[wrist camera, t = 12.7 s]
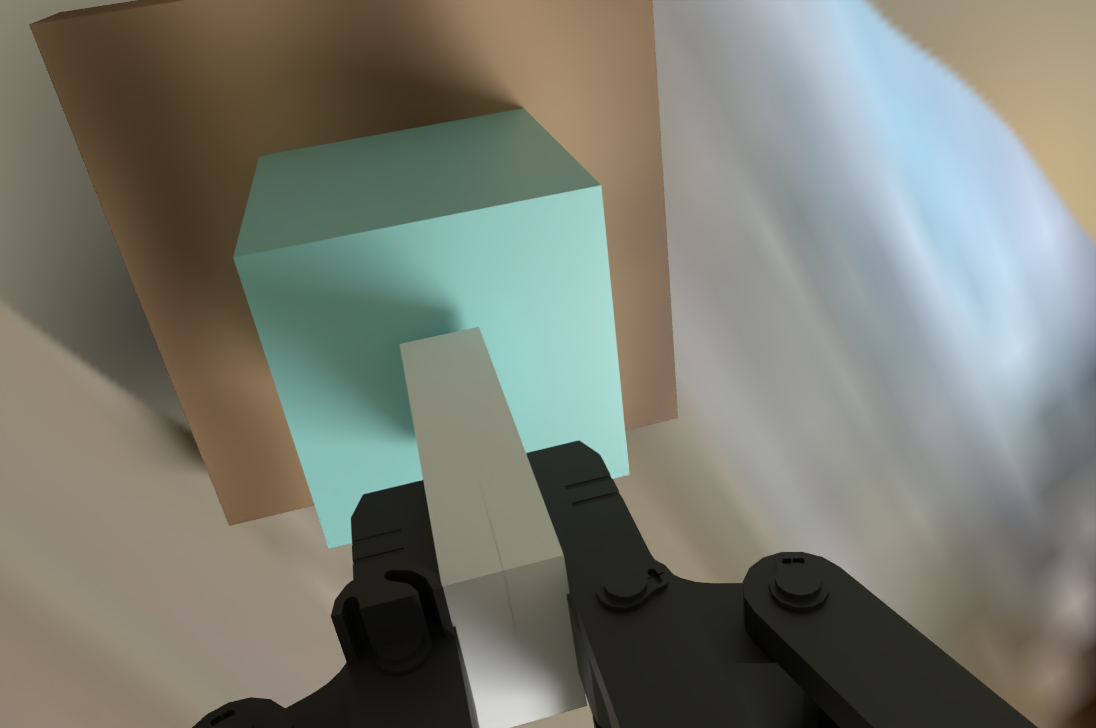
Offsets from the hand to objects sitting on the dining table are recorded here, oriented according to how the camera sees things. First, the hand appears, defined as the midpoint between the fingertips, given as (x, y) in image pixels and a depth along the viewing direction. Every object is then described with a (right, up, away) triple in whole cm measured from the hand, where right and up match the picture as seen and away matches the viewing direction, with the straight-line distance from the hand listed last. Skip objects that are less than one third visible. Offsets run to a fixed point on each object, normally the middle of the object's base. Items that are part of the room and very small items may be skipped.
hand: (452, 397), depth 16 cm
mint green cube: (-2, +4, +6) cm, 8 cm away
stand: (-2, +5, +9) cm, 10 cm away
